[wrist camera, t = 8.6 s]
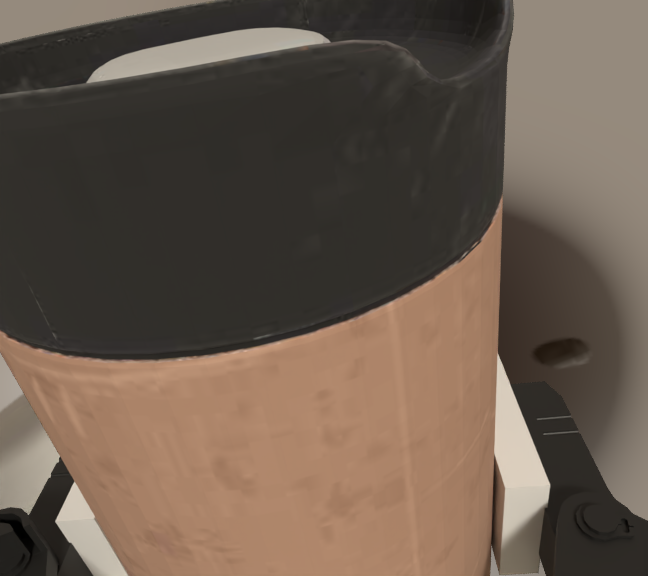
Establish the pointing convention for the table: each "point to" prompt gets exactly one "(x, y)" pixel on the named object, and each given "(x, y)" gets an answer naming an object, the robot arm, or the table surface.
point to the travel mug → (264, 278)
